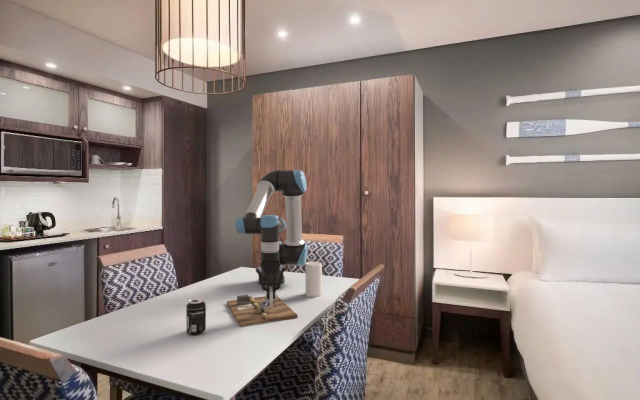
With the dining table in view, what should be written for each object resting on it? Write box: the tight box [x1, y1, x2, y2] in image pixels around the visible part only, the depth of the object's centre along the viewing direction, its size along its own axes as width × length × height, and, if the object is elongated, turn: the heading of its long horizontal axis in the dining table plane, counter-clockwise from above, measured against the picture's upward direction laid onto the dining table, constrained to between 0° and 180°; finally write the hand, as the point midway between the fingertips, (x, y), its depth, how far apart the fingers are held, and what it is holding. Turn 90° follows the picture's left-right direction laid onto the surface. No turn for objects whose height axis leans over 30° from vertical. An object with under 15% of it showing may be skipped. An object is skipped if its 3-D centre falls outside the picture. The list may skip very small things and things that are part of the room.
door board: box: [226, 294, 299, 328], centre depth 154 cm, size 30×24×5 cm
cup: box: [305, 261, 323, 298], centre depth 178 cm, size 8×8×16 cm
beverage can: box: [185, 297, 207, 336], centre depth 130 cm, size 7×7×12 cm
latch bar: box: [259, 294, 276, 312], centre depth 153 cm, size 17×4×3 cm, turn 173°
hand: (271, 306), depth 149 cm, fingers closed
